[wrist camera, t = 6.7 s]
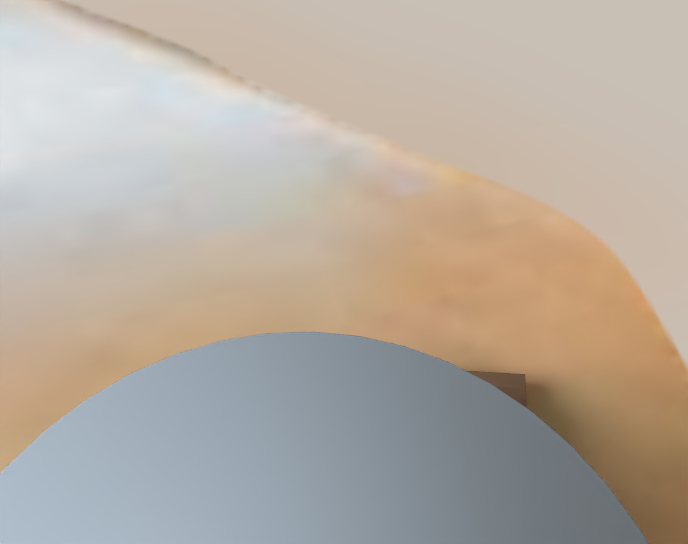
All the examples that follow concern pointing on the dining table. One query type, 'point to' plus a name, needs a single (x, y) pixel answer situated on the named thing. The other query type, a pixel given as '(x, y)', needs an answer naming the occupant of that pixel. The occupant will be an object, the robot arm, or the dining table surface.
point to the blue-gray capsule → (305, 456)
